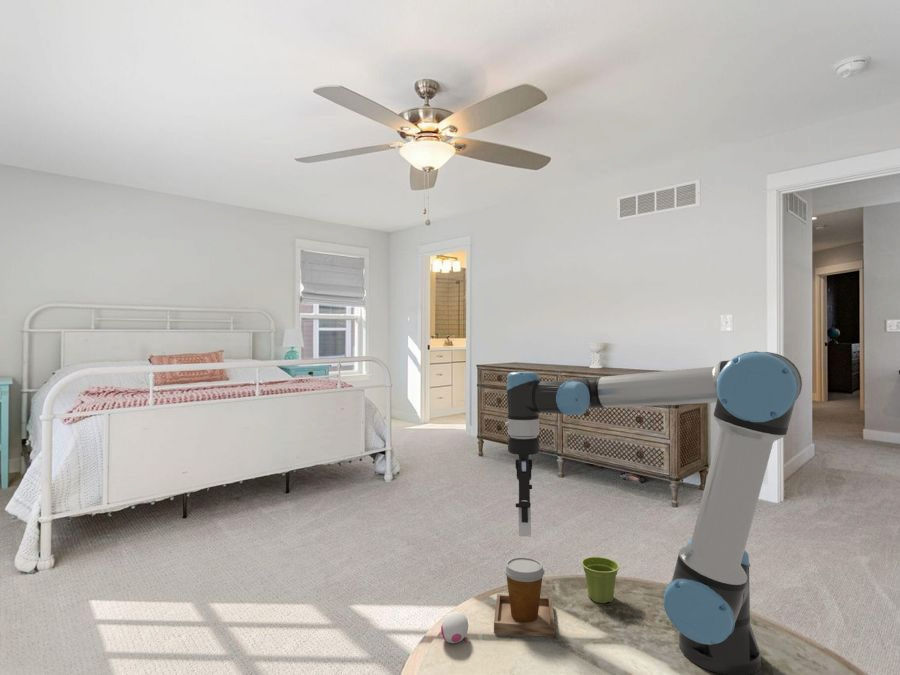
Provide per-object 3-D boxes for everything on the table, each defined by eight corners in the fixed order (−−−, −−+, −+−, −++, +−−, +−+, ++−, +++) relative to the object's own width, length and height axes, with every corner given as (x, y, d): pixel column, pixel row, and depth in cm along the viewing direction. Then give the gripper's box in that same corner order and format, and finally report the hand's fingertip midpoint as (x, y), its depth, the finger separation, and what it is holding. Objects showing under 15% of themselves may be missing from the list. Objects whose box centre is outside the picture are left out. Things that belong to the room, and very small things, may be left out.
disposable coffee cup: (544, 628, 113) (544, 575, 114) (502, 623, 115) (502, 571, 116) (545, 607, 123) (544, 558, 123) (506, 603, 125) (506, 554, 125)
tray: (551, 606, 125) (551, 597, 125) (555, 637, 111) (555, 627, 111) (497, 602, 127) (497, 593, 127) (493, 632, 113) (493, 622, 113)
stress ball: (449, 644, 114) (433, 618, 115) (478, 627, 113) (461, 600, 114) (442, 664, 107) (425, 635, 108) (473, 645, 106) (455, 616, 107)
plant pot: (579, 602, 126) (578, 568, 127) (584, 586, 135) (584, 554, 135) (618, 610, 123) (617, 574, 123) (620, 593, 132) (620, 559, 132)
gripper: (509, 428, 133) (510, 508, 132) (505, 445, 108) (507, 544, 108) (537, 428, 132) (539, 509, 131) (540, 445, 107) (542, 546, 106)
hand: (524, 525), depth 119 cm, fingers open, 13 cm apart
